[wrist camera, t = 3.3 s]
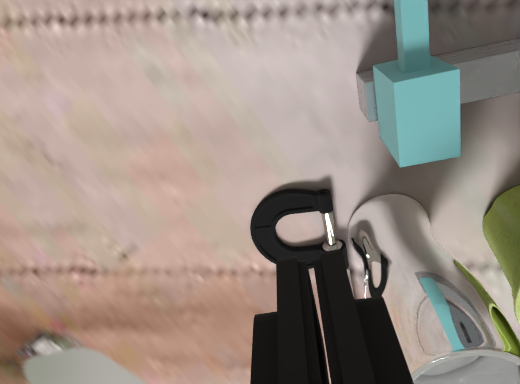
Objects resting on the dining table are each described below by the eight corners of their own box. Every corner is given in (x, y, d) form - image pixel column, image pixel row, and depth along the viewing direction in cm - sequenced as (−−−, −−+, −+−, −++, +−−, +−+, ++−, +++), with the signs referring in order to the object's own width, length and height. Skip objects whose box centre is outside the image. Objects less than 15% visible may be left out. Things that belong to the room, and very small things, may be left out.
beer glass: (356, 275, 34) (409, 462, 21) (329, 205, 32) (370, 371, 18) (442, 249, 33) (556, 432, 20) (422, 174, 30) (539, 329, 17)
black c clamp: (241, 194, 32) (238, 210, 30) (334, 177, 31) (339, 192, 29) (279, 337, 38) (280, 359, 36) (358, 326, 38) (363, 348, 35)
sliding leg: (408, -118, 21) (457, -155, 16) (420, 118, 27) (460, 156, 21) (349, -103, 22) (376, -133, 16) (373, 127, 27) (400, 167, 22)
